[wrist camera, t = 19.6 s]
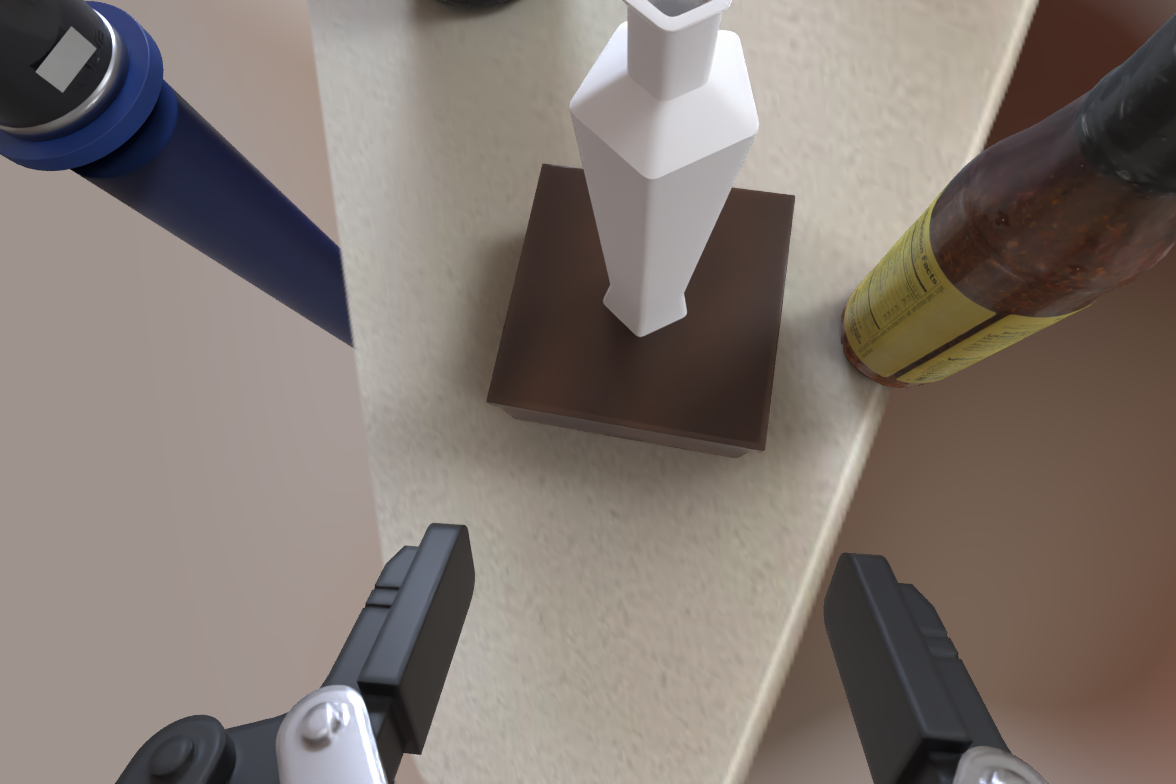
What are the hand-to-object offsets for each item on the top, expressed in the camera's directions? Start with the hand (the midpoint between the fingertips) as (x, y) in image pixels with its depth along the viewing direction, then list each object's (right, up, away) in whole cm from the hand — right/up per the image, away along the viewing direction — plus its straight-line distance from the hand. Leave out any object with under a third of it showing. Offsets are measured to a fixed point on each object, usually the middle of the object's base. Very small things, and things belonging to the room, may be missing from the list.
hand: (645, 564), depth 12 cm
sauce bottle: (+15, +7, +17) cm, 24 cm away
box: (+2, +7, +18) cm, 20 cm away
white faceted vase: (+1, +8, +13) cm, 16 cm away
